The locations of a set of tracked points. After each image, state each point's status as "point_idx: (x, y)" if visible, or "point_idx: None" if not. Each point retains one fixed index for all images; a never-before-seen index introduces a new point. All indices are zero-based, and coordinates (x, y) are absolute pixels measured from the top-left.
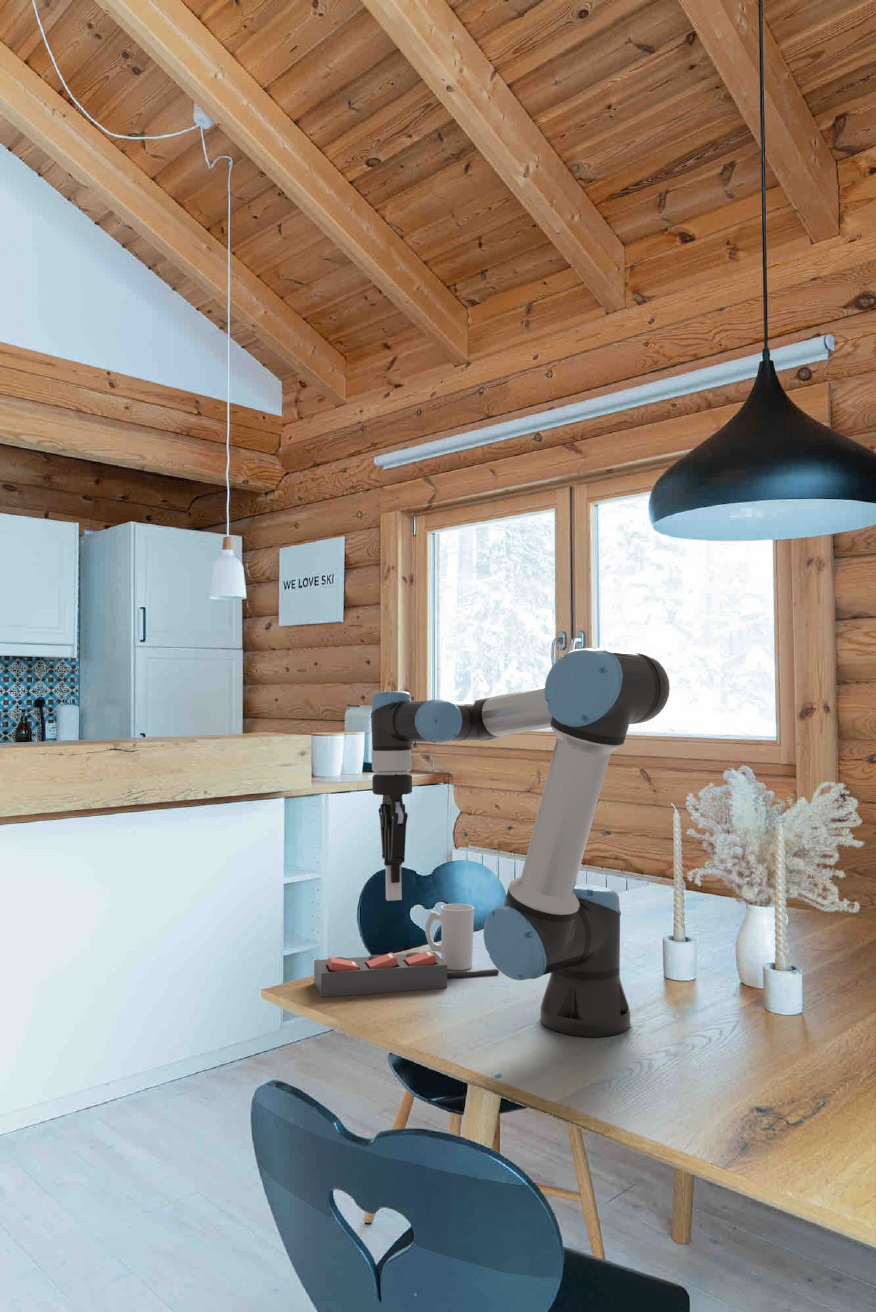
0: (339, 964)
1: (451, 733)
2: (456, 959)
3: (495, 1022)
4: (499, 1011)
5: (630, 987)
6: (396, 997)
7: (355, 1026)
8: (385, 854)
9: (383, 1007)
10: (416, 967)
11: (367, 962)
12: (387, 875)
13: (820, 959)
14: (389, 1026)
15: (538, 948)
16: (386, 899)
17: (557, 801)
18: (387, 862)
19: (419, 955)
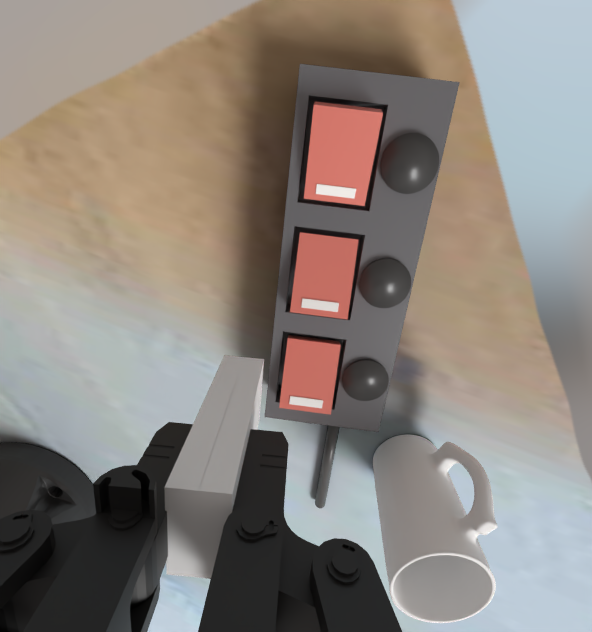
0: (311, 132)
1: None
2: (378, 464)
3: (50, 382)
4: (107, 413)
5: (179, 619)
6: (241, 267)
7: (64, 104)
8: (238, 580)
9: (181, 214)
10: (272, 347)
11: (345, 239)
12: (189, 434)
13: None
14: (54, 184)
15: None
16: (250, 358)
17: None
18: (110, 502)
19: (320, 380)
